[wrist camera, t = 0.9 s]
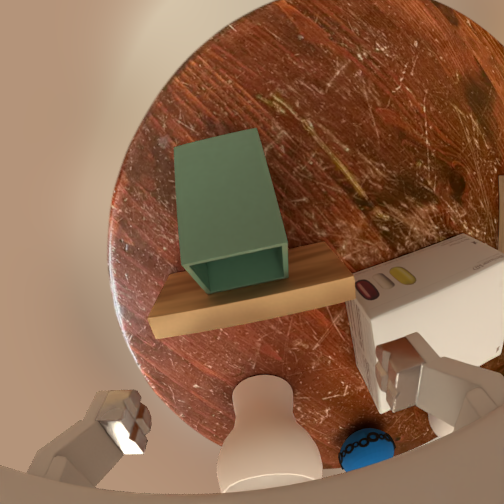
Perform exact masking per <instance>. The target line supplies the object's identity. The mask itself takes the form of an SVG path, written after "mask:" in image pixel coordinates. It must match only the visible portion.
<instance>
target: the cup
mask: <svg viewBox="0 0 504 504" xmlns="http://www.w3.org/2000/svg"><path fill="white" fill-rule="evenodd" d="M232 399H233V406H234V411H235V415H236V420H235V425H234V429H233V430H232V431H231V432H230V434H229V435H228V436H227V438H226V439H225V441H224V443H223V446H222V448H221V450H220V453H219V456H218V461H217V478H218V482H219V486H220V490H221V493H228V492H240V491H250V490H258V489H266V488H273V487H280V486H286V485H291V484H297V483H302V482H307V481H312V480H316V479H321V478H322V468H323V465H322V461H321V457H320V453H319V450H318V448H317V445H316V444H315V442H314V441H313V439H312V438H311V436H310V435H309V433H308V432H307V431H306V430H305V429H304V428H303V427H302V426H301V425H299V424H298V423H297V422H296V419H295V417H294V414H293V390H292V388H291V386H290V385H289V384H288V382H287V381H285V380H283V379H282V378H280V377H276V376H273V375H257V376H253V377H249V378H247V379H245V380H243V381H241V382H240V383H239V384H238V385H237V386H236V387H235V389H234V391H233V394H232Z"/></svg>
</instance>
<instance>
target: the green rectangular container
mask: <svg viewBox="0 0 504 504" xmlns="http://www.w3.org/2000/svg"><path fill="white" fill-rule="evenodd" d="M174 167H175V188H176V205H177V220H178V233H179V246H180V257H181V265H182V266H183V267H184V269H185V270H186V271H187V272H188V273H189V274H190V276H191V277H192V278H193V279H194V280H195V281H196V282H197V284H198V285H199V286H200V287H201V288H202V289H203V290H204V291H205V293H206V294H207V295H209V294H214V293H219V292H224V291H229V290H234V289H239V288H244V287H248V286H253V285H258V284H263V283H267V282H272V281H277V280H281V279H286V278H289V264H288V240H287V236H286V232H285V228H284V225H283V221H282V217H281V213H280V209H279V206H278V202H277V198H276V194H275V191H274V187H273V183H272V180H271V176H270V172H269V169H268V165H267V161H266V158H265V154H264V151H263V147H262V144H261V140H260V137H259V133H258V130H257V128H252V129H248V130H243V131H238V132H233V133H229V134H224V135H220V136H216V137H212V138H207V139H203V140H199V141H195V142H192V143H188V144H184V145H180V146H176V147H174Z"/></svg>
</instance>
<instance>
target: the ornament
mask: <svg viewBox="0 0 504 504" xmlns="http://www.w3.org/2000/svg"><path fill="white" fill-rule="evenodd" d="M395 448H396V447H395V444H394V441H393V439H392V438H391V437H390V435H389V434H387V433H385V432H383V431H381V430H379V429H375V428H366V429H361V430H358V431H356V432H354V433H353V434H352V435H350V436H349V437H348V438H347V439H346V440H345V442H344V443H343V445H342V448H341V450H340V453H339V455H338V458H339V462H340V464H341V467H342V469H344V470H345V471H346V472H348V471H352V470H355V469H359V468H362V467H365V466H369V465H372V464H375V463H378V462H381V461H384V460H387V459H389V458H392V457H393V455H394V450H395Z"/></svg>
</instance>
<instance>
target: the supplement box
mask: <svg viewBox="0 0 504 504" xmlns="http://www.w3.org/2000/svg"><path fill="white" fill-rule="evenodd" d="M353 275H354V278H355V291H356V299H354V300H350V301H346V302H345V303H346V309H347V314H348V319H349V324H350V330H351V335H352V341H353V346H354V352H355V358H356V366H357V367H358V369H359V371H360V373H361V375H362V377H363V379H364V381H365V383H366V385H367V387H368V389H369V392H370V394H371V396H372V398H373V400H374V402H375V405H376V407H377V409H378V411H379V413H380V414H382V413H385V412H387V411H389V410H391V408H390V406H389V405H388V403H387V401H386V393H385V392H383V391H381V389H380V387H379V385H378V383H377V380H376V374H375V365H376V363H377V362H378V359H377V357H376V355H375V349H376V346H377V345H380V344H383V343H386V342H389V341H392V340H395V339H398V338H401V337H404V336H406V335H409V334H412V333H415V332H418V333H419V334H420V335H421V336H422V337H423V338H424V339H425V340H426V342H427V343H428V344H429V345H430V346H431V347H432V348H433V350H434V351H435V352H436V353H437V354H438V355H439V356H440V358H441V357H443V356H445V357H448V358H451V359H455V360H458V361H461V362H464V363H467V364H471V365H474V366H477V367H479V366H481V365H482V364H484V363H486V362H487V361H489V360H491V359H493V358H495V357H496V356H498V355H500V354H501V351H502V346H503V341H504V253H502V252H500V251H498V250H496V249H494V248H492V247H490V246H488V245H486V244H484V243H482V242H480V241H478V240H476V239H474V238H472V237H470V236H468V235H466V234H464V233H462V234H460V235H457V236H455V237H452V238H450V239H447V240H444V241H442V242H439V243H437V244H434V245H431V246H429V247H426V248H423V249H421V250H418V251H415V252H413V253H410V254H407V255H404V256H402V257H399V258H396V259H393V260H390V261H387V262H385V263H382V264H379V265H376V266H373V267H370V268H367V269H364V270H361V271H359V272H356V273H353Z"/></svg>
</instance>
